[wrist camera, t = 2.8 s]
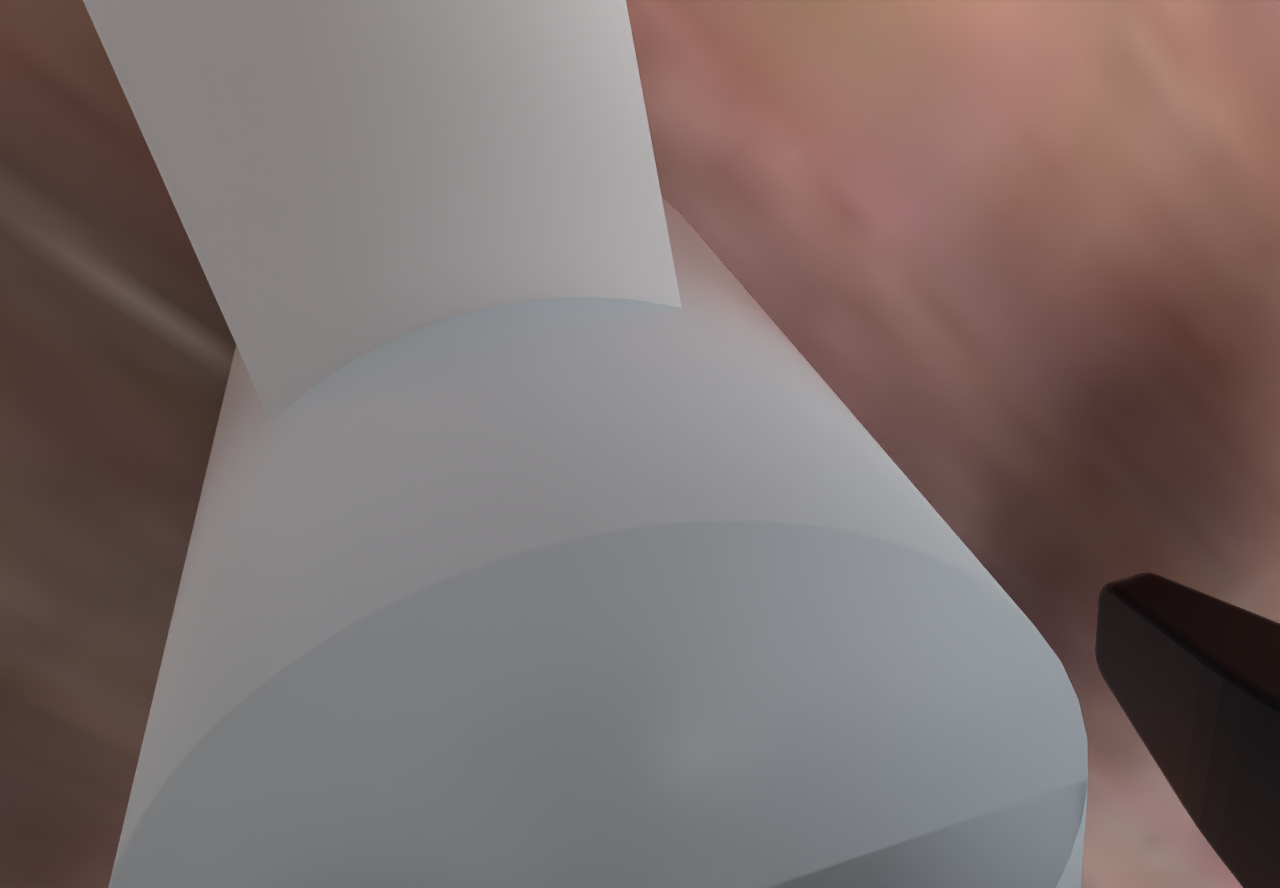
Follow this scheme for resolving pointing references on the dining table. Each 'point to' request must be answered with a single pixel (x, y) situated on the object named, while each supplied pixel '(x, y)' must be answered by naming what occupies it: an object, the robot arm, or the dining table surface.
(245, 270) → the connector casing
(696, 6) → the dining table surface
